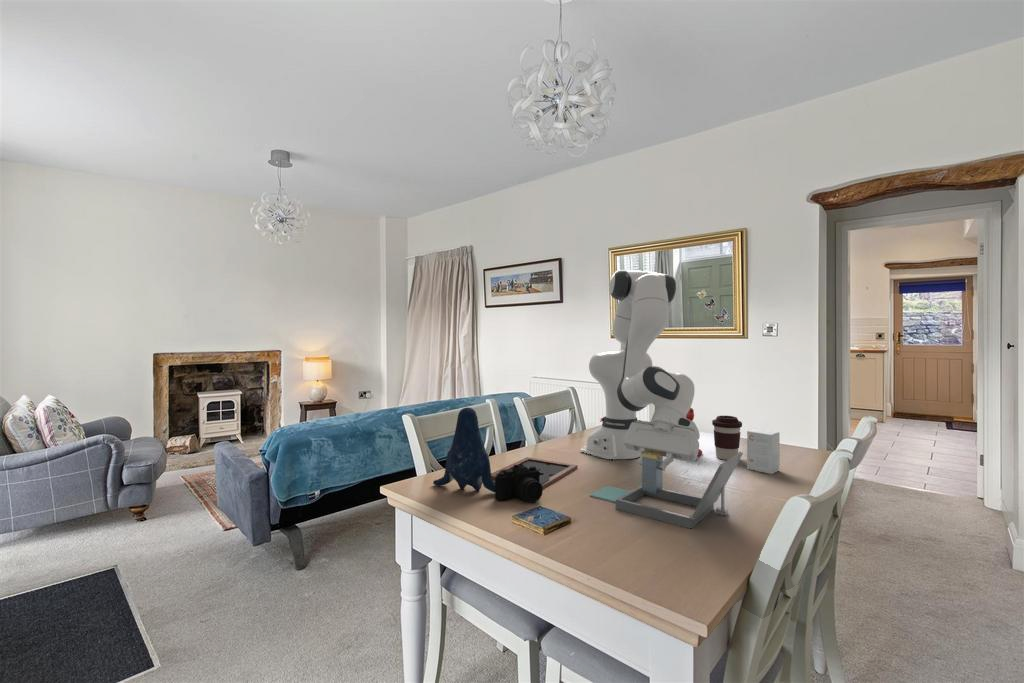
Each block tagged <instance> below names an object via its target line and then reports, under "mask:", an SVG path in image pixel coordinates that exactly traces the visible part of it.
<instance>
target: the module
mask: <svg viewBox="0 0 1024 683" xmlns="http://www.w3.org/2000/svg"><path fill="white" fill-rule="evenodd" d="M660 461H662V462H663V461H664V456H663V453H659V452H654V451H647V452H645V453H643V454H642V466H641V485H642V491H646V492H650V493H654V494H657V493H658V492H660V491H661V490H662V489H663V473H664V472H663V470H659V468H658V465H659V462H660Z"/></svg>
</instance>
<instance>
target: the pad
mask: <svg viewBox="0 0 1024 683" xmlns="http://www.w3.org/2000/svg"><path fill="white" fill-rule="evenodd" d="M630 491H631V490H626V489H622V488H618V487H614V486H611V485H610V486H609V485H606V486H604V487H602V488H600V489H598V490H596V491H594V492H592V493H590V494H589V497H592V498H595V499H600V500H604V501H608V502H612V503H614V504H616V499H618V498H619V497H621V496H623V495H625V494H627V493H628V492H630Z"/></svg>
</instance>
